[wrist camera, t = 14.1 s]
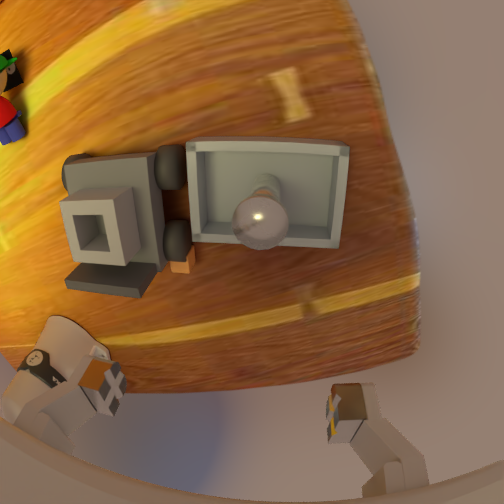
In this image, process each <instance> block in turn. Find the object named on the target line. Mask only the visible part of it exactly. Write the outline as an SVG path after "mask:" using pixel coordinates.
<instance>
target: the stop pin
mask: <svg viewBox="0 0 504 504" xmlns="http://www.w3.org/2000/svg"><path fill="white" fill-rule="evenodd" d="M288 227H289V220H288V213H287V210H286V208H285V206H284V205H283V204H282V203H281V202H280V182H279V180H278V178H277V177H276V176H274V175H272V174H269V173H264V174H261V175H259V176H258V177H257V178H256V179H255V181H254V184H253V186H252V189H251V192H250V195H249V196H248V197H246V198H244V199H243V200H242V201H241V202H240V203H239V204H238V205H237V207H236V209H235V212H234V214H233V217H232V229H233V232H234V234H235V236H236V237H237V239H238V240H239V241H240V242H241V243H242V244H244V245H245V246H247V247H249V248H252V249H256V250H266V249H270V248H273V247H275V246H277V245H278V244H279V243H281V242H282V241H283V239H284V238H285V236H286V234H287V232H288Z"/></svg>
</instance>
